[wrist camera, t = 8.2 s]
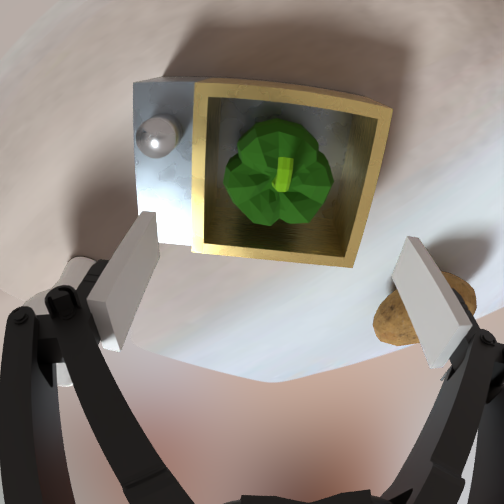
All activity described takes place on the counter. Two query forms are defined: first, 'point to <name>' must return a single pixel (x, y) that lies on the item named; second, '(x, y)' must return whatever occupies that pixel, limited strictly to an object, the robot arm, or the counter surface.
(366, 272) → the counter surface
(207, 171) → the gold open box
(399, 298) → the potato
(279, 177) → the bell pepper
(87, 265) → the cup
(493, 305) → the counter surface
